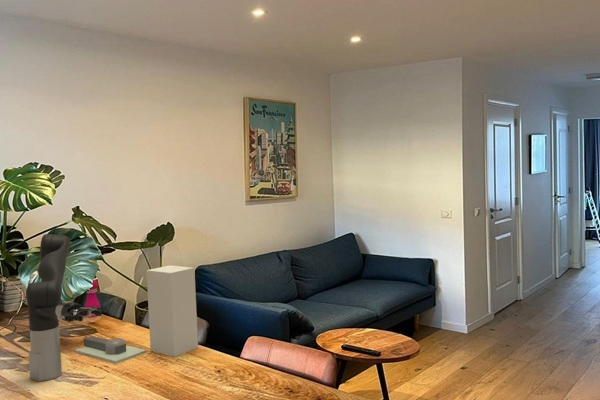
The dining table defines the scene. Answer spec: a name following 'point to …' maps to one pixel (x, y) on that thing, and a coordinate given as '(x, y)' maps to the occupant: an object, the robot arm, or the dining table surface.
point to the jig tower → (172, 310)
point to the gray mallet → (106, 344)
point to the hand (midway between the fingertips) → (91, 316)
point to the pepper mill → (92, 297)
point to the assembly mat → (111, 358)
